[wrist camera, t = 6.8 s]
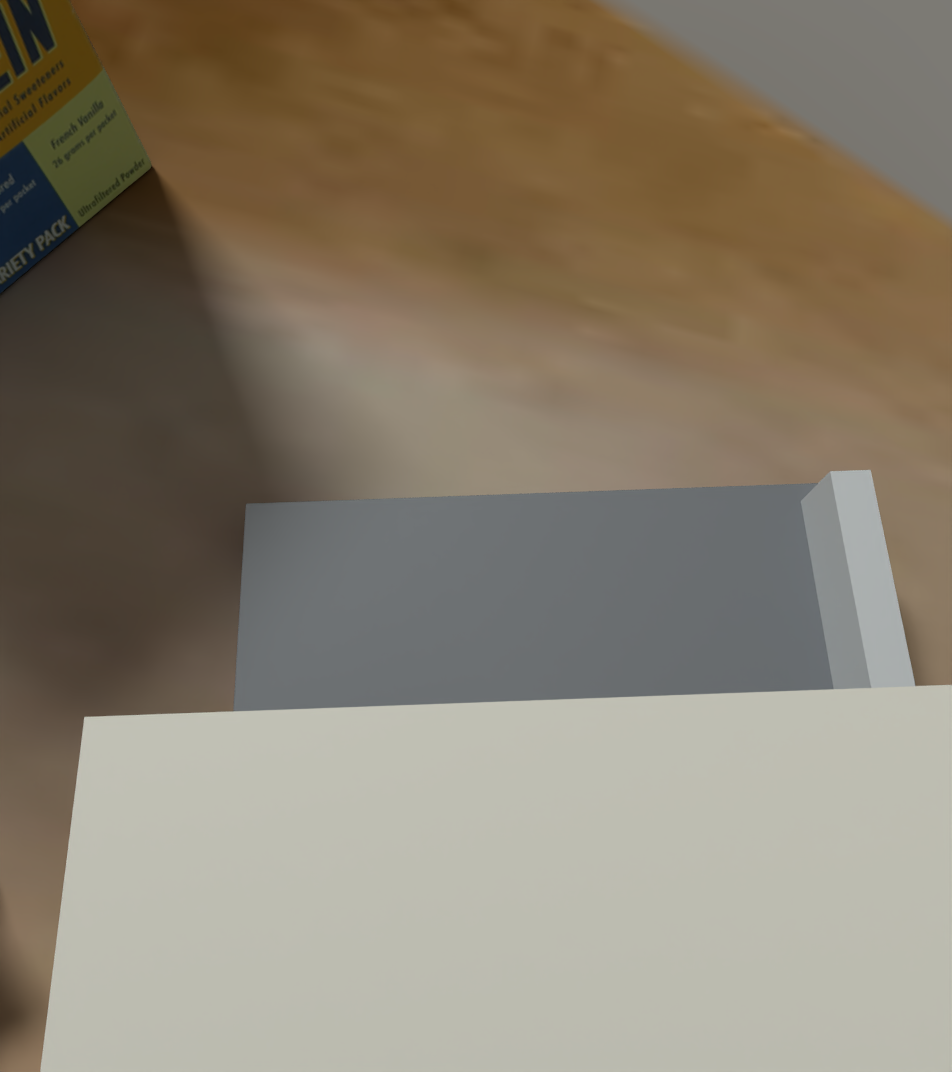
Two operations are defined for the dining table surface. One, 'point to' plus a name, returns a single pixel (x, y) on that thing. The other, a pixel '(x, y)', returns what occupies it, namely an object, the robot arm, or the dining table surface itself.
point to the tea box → (513, 887)
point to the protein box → (55, 133)
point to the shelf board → (567, 596)
